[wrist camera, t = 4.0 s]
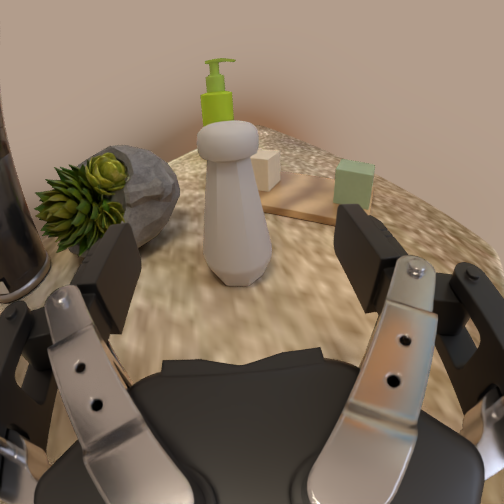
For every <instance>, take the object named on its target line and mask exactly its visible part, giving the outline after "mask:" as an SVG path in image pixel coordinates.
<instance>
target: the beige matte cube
mask: <svg viewBox="0 0 504 504" xmlns="http://www.w3.org/2000/svg"><path fill="white" fill-rule="evenodd" d="M250 159H251V163H252V167H253V171H254V176H255V180H256V184H257V188H258V190H259V191H266V192H269V191H270V190H271V189H272V188H273V187H274V186H275V185H276V184H277V183H278V182H279V181H280V151H277V150H266V149H258V151H257V153H256V154H254V155H253V156H251V157H250Z"/></svg>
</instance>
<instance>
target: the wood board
mask: <svg viewBox="0 0 504 504" xmlns="http://www.w3.org/2000/svg"><path fill="white" fill-rule="evenodd" d="M334 186H335V179H329V178H323V177H317V176H310V175H303V174H296V173H289V172H282V171H280V181H279V182H278V183H277V184H276V185H275V186H274V187H273V188H272V189H271V190H270V191H269V192H266V191H259V190H258V192H259V196H260V200H261V204H262V208H263V212H266V213H271V214H277V215H282V216H287V217H293V218H298V219H303V220H308V221H313V222H318V223H323V224H328V225H333V226H335V224H336V215H337V208H338V206H339V205H340V204H336V203H333V197H334ZM373 192H374V187H372V192H371V198H370V204H369V209H368V210H366V209H363V210H364V211H365V212H366V213H367V214H368V215H370V210H371V204H372V198H373Z"/></svg>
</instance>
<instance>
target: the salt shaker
mask: <svg viewBox="0 0 504 504" xmlns="http://www.w3.org/2000/svg"><path fill="white" fill-rule="evenodd" d="M258 146H259V136H258V131H257V128H256V127H255V126H254V125H253V124H251V123H249V122H244V121H221V122H216V123H212V124H209V125H206V126H204V127H203V128H202V129H201V130H200V131H199V133H198V134H197V148H198V153H199V155H200V156H201V157H202V158H203V159H205V160H207V173H206V191H205V213H204V240H203V255H204V257H205V260H206V262H207V264H208V266H209V268H210V269H211V270H212V271H213V272H214V273H215V274H216V275H217V276H218V277H219V278H220V279H221V280H222V281H223V282H224V283H225V284H226V285H227V286H249V285H250V284H252V283H253V282H254V281H255V280H257V279H258V278H259V277H260V276H262V275H263V273H264V271H265V269H266V267H267V265H268V263H269V261H270V259H271V255H272V244H271V240H270V236H269V232H268V228H267V224H266V220H265V216H264V212H263V208H262V204H261V200H260V196H259V192H258V188H257V184H256V180H255V176H254V171H253V167H252V163H251V159H250V157H251V156H253V155H254V154H256V153H257V151H258Z"/></svg>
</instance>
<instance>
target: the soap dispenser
mask: <svg viewBox="0 0 504 504" xmlns="http://www.w3.org/2000/svg"><path fill="white" fill-rule="evenodd" d="M226 61H229V62H235V60H234V59H226V58H220V59H213V60H208V61H205V64H209V66H210V75H208V77H206V86H207V93H205V94H202V95H201V107H202V117H203V127H204V126H206V125H209V124H212V123H216V122H221V121H234V116H233V101H232V92H229V91H225V83H224V76H223V75H221V74H219V62H226Z"/></svg>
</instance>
